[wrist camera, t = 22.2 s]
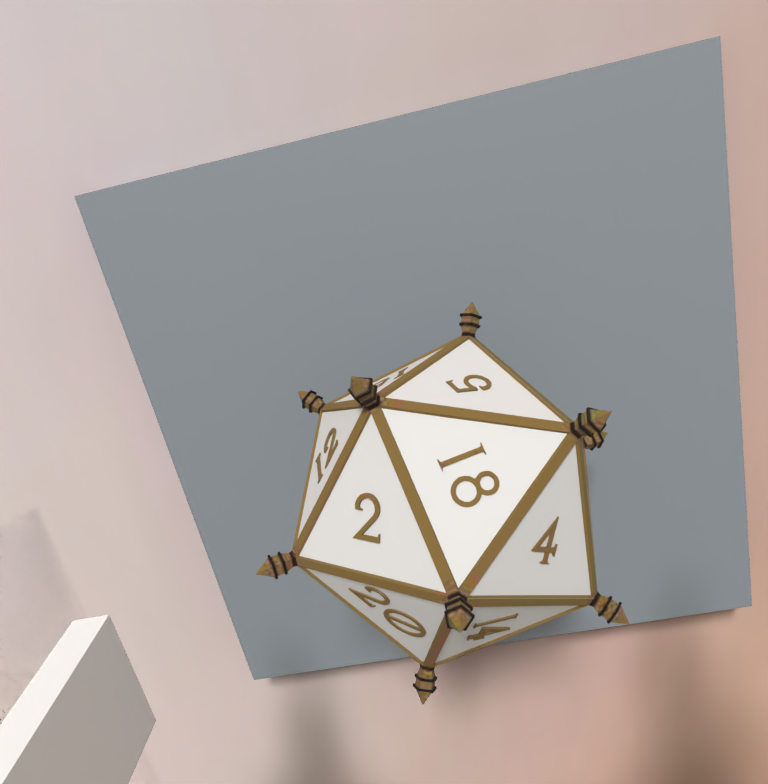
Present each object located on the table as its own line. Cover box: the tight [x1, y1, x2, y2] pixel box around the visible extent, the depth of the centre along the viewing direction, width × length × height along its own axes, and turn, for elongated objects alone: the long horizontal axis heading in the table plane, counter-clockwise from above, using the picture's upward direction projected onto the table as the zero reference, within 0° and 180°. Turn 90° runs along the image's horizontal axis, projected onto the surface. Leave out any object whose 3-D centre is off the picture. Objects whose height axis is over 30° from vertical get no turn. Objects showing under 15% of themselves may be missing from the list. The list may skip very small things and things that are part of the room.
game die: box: [256, 302, 629, 704], centre depth 17 cm, size 9×8×10 cm
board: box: [75, 36, 752, 680], centre depth 23 cm, size 18×18×2 cm
